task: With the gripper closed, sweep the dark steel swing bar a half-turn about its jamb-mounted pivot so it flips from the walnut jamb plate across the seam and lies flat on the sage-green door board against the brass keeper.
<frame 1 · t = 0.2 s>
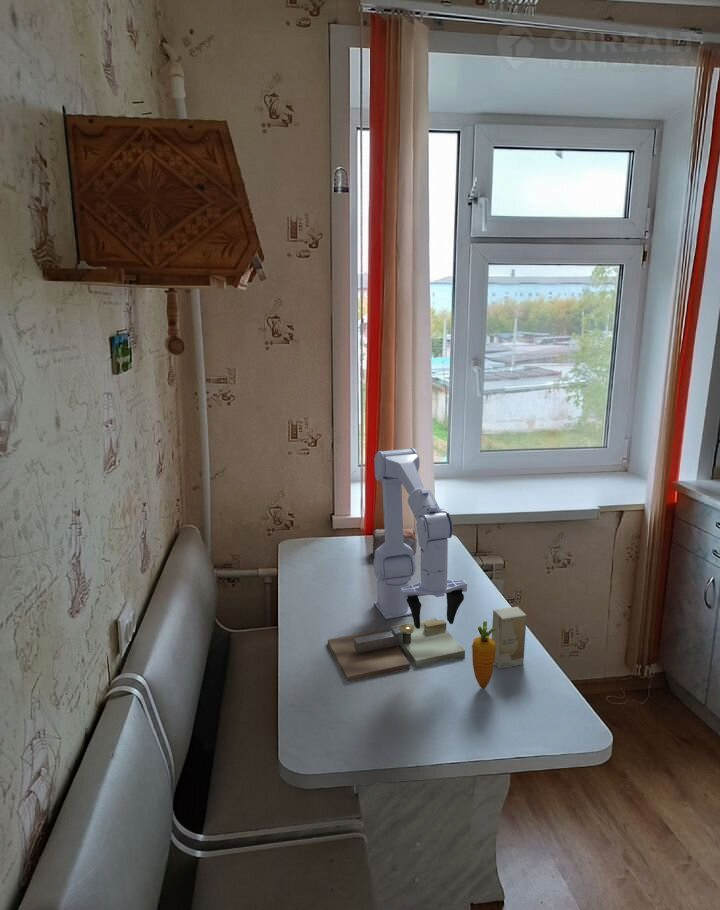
hand: (433, 624, 137), 10 cm above the table, tool pointing down, fingers open, 7 cm apart
swing bar: (384, 638, 144), point 4 cm above the table, hinge at 0.0°
carrot: (482, 689, 131), on the table
food item: (394, 555, 200), on the table
skincare box: (507, 662, 140), on the table
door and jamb: (406, 647, 147), on the table
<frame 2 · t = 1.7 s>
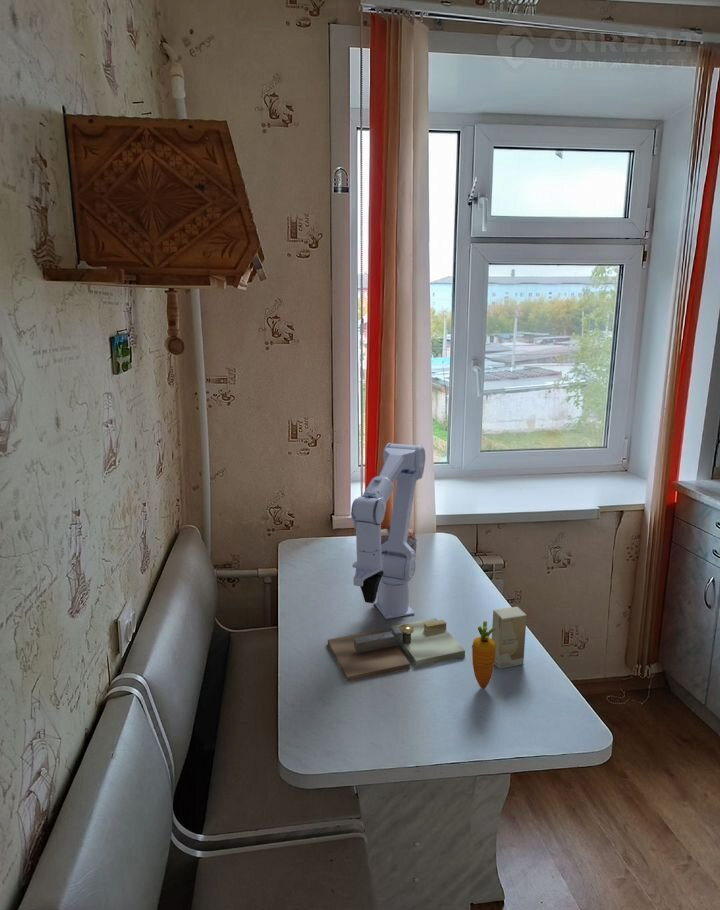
hand: (370, 601, 148), 10 cm above the table, tool pointing down, fingers closed
nothing on the table moved.
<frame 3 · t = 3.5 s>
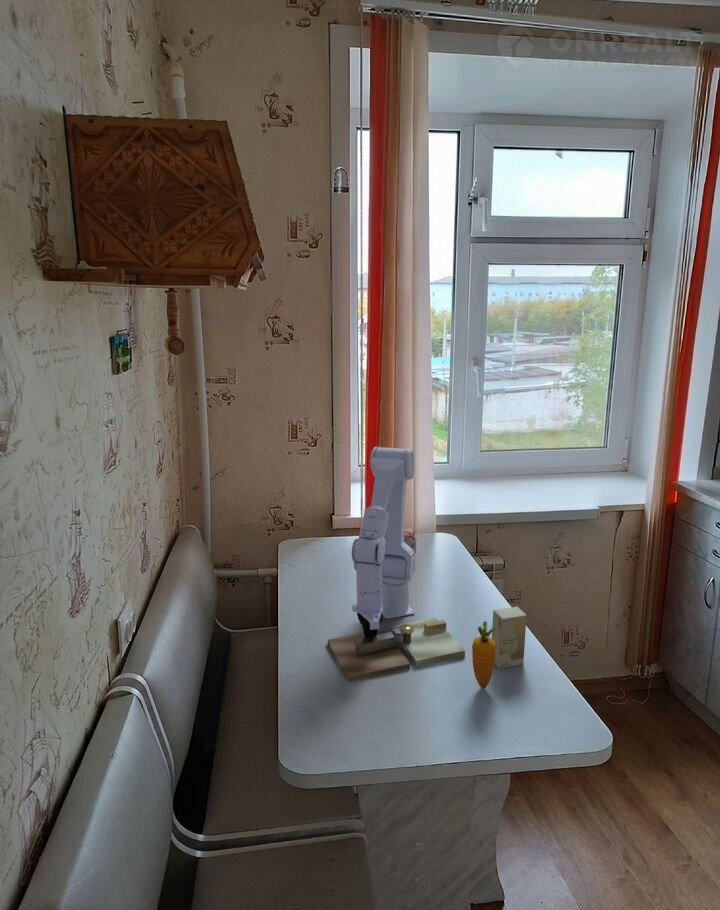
hand: (370, 641, 145), 2 cm above the table, tool pointing down, fingers closed
swing bar: (385, 639, 144), point 4 cm above the table, hinge at 4.2°, touching gripper
everything else where it was.
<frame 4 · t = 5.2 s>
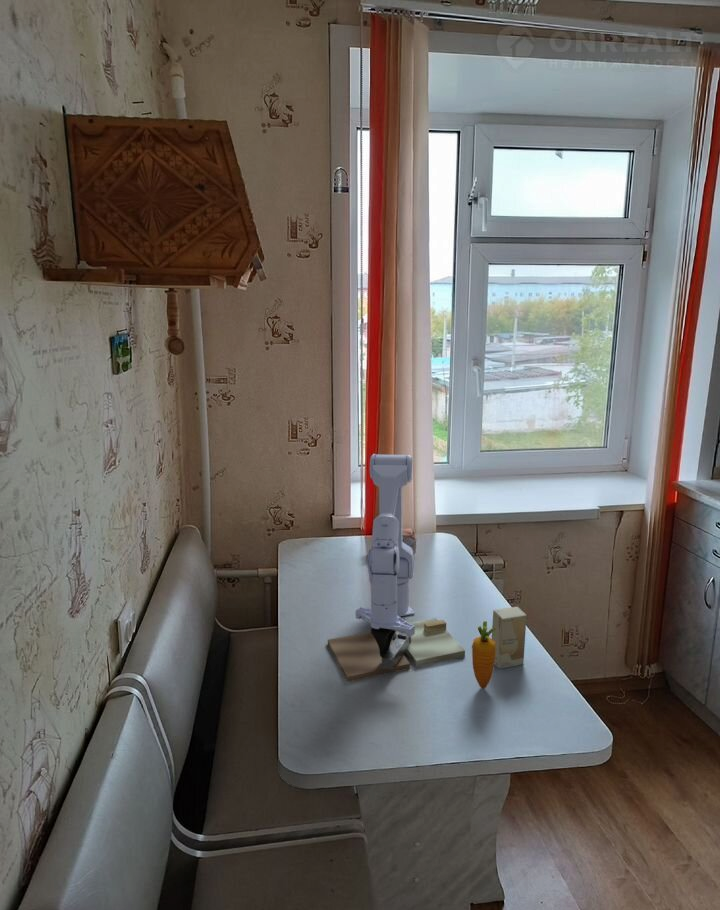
hand: (384, 655, 140), 2 cm above the table, tool pointing down, fingers closed
swing bar: (398, 645, 141), point 4 cm above the table, hinge at 47.9°, touching gripper
everything else where it was.
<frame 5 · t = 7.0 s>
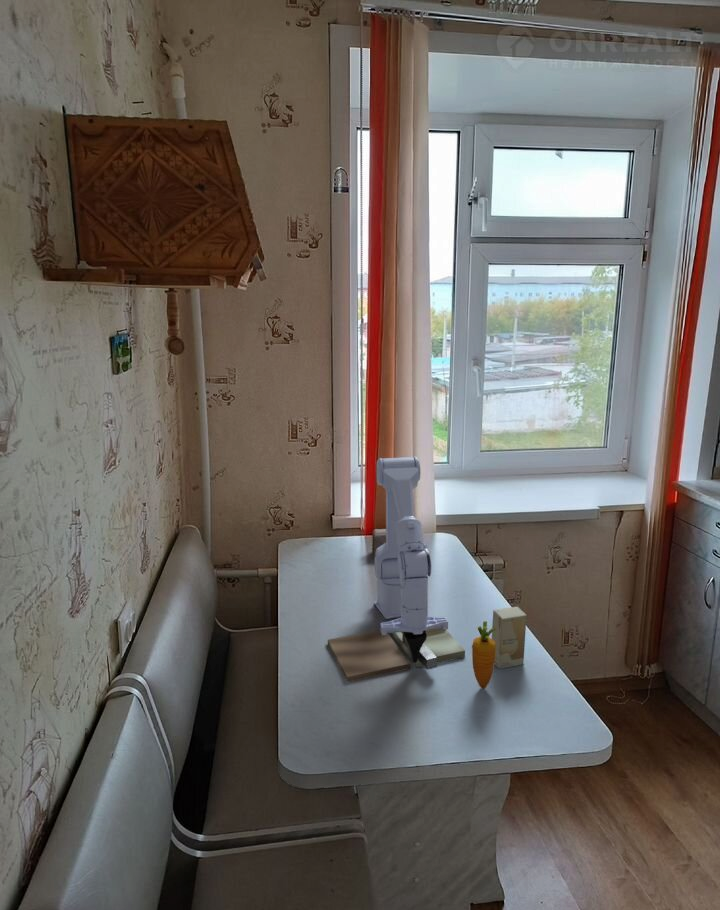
hand: (414, 659, 138), 2 cm above the table, tool pointing down, fingers closed
swing bar: (417, 645, 141), point 4 cm above the table, hinge at 93.6°, touching gripper
everything else where it was.
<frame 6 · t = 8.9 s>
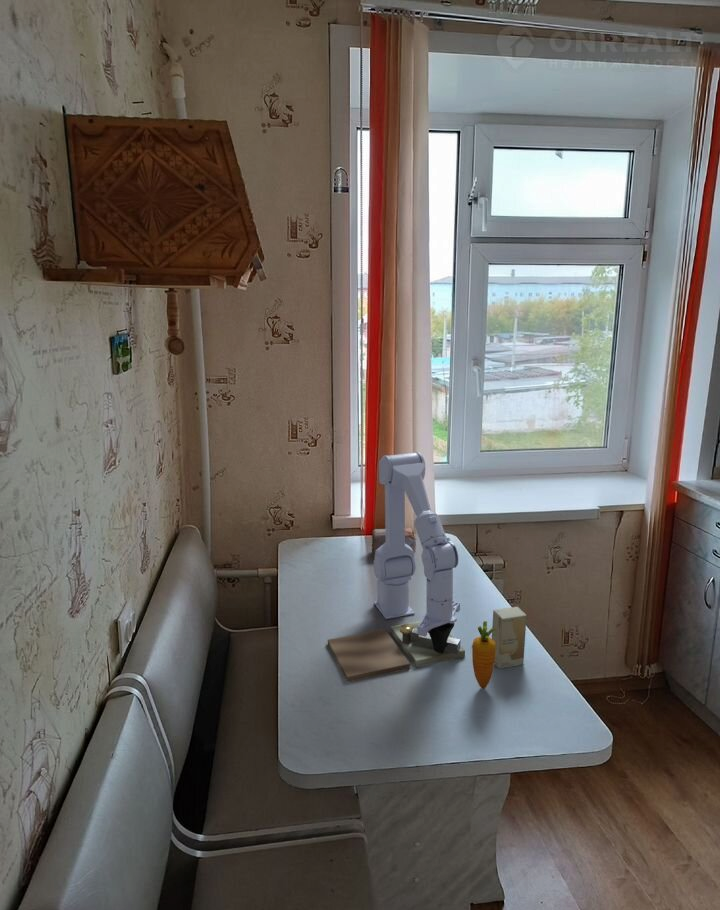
hand: (439, 651, 141), 2 cm above the table, tool pointing down, fingers closed
swing bar: (429, 638, 144), point 4 cm above the table, hinge at 137.5°, touching gripper
everything else where it was.
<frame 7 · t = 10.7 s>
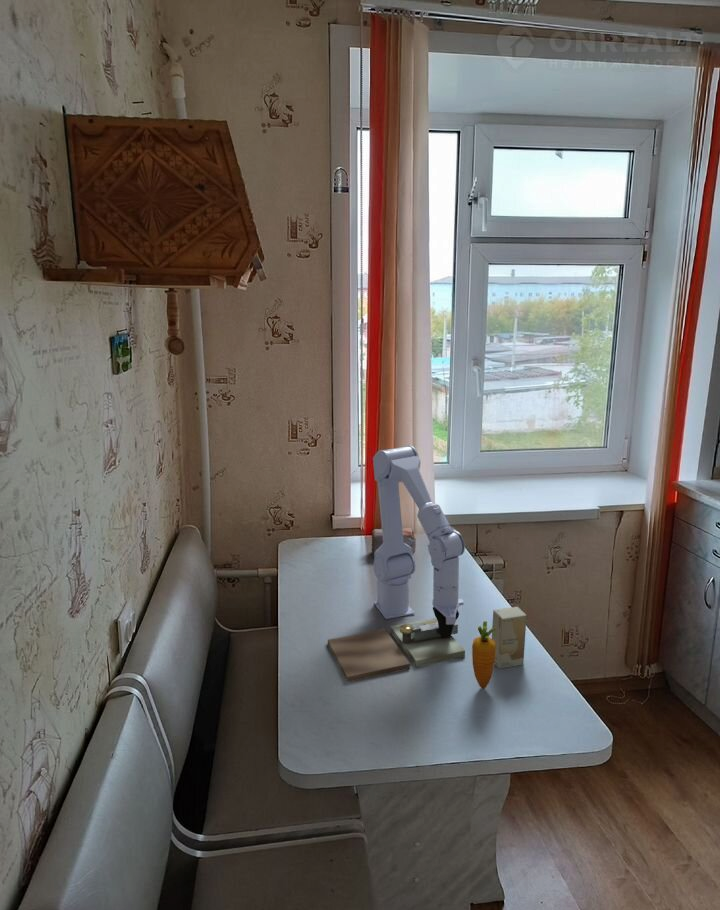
hand: (445, 637, 146), 2 cm above the table, tool pointing down, fingers closed
swing bar: (428, 629, 147), point 4 cm above the table, hinge at 179.3°, touching gripper
everything else where it was.
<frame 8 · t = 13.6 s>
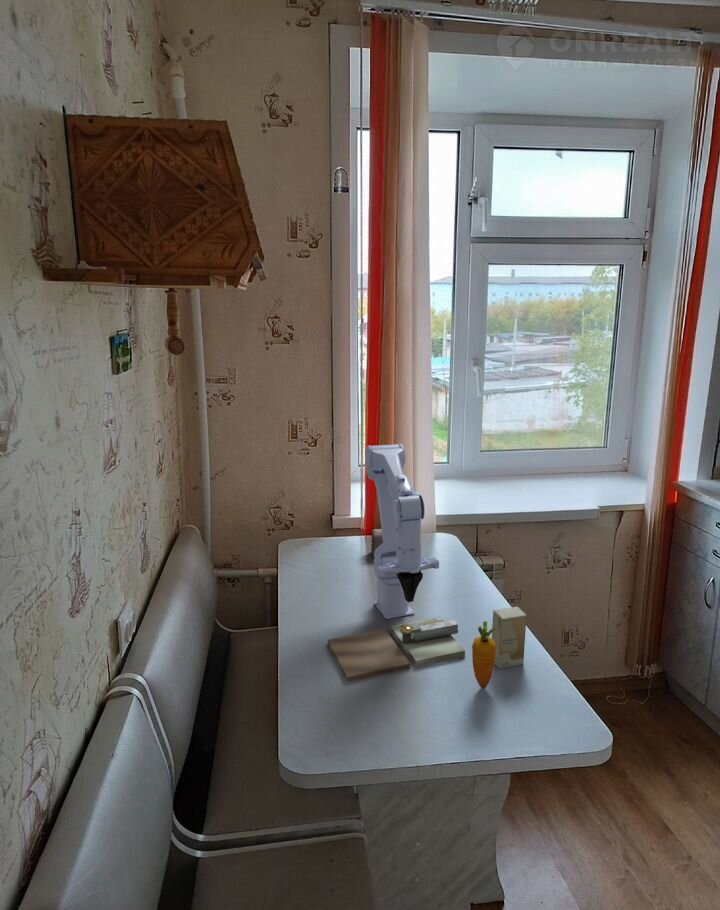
hand: (409, 600, 148), 10 cm above the table, tool pointing down, fingers closed
swing bar: (428, 629, 147), point 4 cm above the table, hinge at 179.4°
everything else where it was.
at the end: swing bar at +179° (first picture: +0°) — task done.
